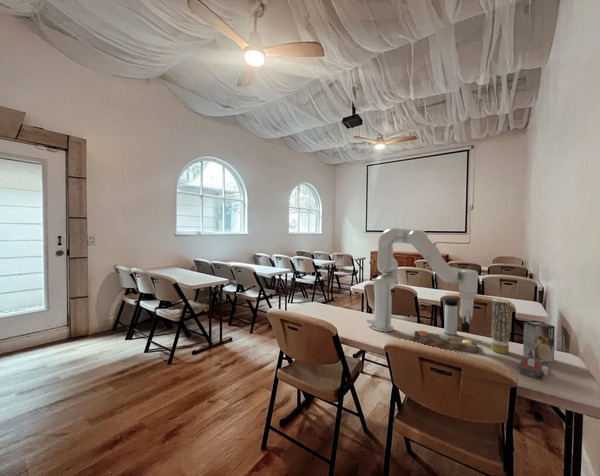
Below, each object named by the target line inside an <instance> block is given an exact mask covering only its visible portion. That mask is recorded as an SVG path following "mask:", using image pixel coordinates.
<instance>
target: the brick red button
mask: <svg viewBox="0 0 600 476" xmlns="http://www.w3.org/2000/svg"><path fill="white" fill-rule="evenodd" d="M417 331H418V336H423V337H427V333H428V331H425V330H417Z"/></svg>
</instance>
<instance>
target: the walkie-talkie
mask: <svg viewBox="0 0 600 476" xmlns="http://www.w3.org/2000/svg"><path fill="white" fill-rule="evenodd" d="M519 374H520V375H522V376H523V375H524V376H527V377H529V378H534V379H538V380H542V379H543V376H547V375H549V366H547V362H546V361H544V362H543V365H542V363H541V362H535V360H534V359H530V358H526V359H525V358H523V359H521V361H520V367H519Z"/></svg>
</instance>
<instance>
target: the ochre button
mask: <svg viewBox="0 0 600 476" xmlns="http://www.w3.org/2000/svg"><path fill="white" fill-rule="evenodd" d="M462 343H466V344H472V342H471V341H469V340H462Z"/></svg>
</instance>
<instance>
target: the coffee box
mask: <svg viewBox="0 0 600 476" xmlns="http://www.w3.org/2000/svg"><path fill="white" fill-rule="evenodd" d="M555 330H556V329H555V325H552V324H548V323H545V322H543V321H524V322H523V346H522V347H523V350H522V353H523V354H522V356H523V357H525V358H526V359H528V358H530V359H534V360H535V362H538V363H542V362H544V361H546V363H547V362H548V363H554V362H555Z"/></svg>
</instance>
